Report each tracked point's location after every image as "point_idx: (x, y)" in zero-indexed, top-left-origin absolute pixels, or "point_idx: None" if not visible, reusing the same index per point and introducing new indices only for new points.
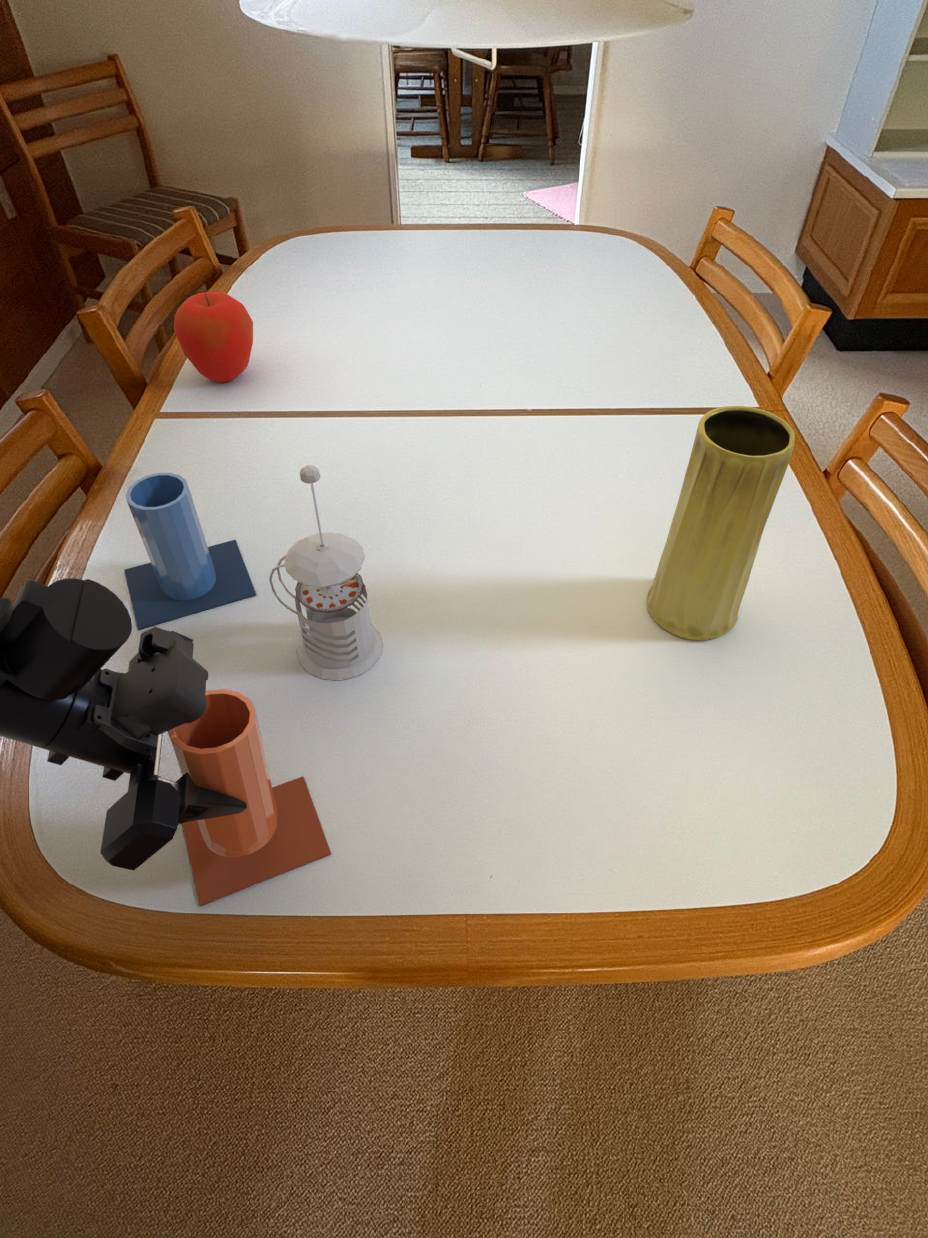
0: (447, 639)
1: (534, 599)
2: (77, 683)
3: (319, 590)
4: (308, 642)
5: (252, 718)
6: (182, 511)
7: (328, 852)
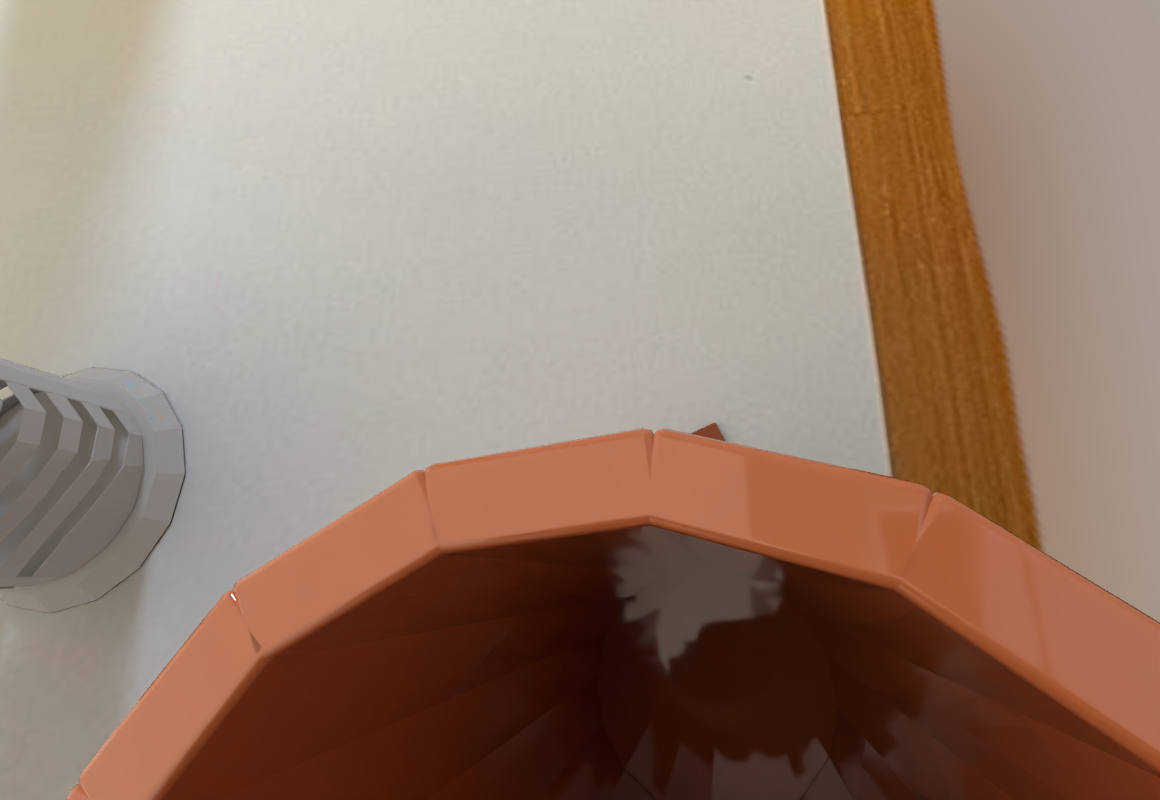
0: (113, 215)
1: (45, 46)
2: None
3: None
4: (29, 572)
5: (568, 477)
6: None
7: (714, 428)
